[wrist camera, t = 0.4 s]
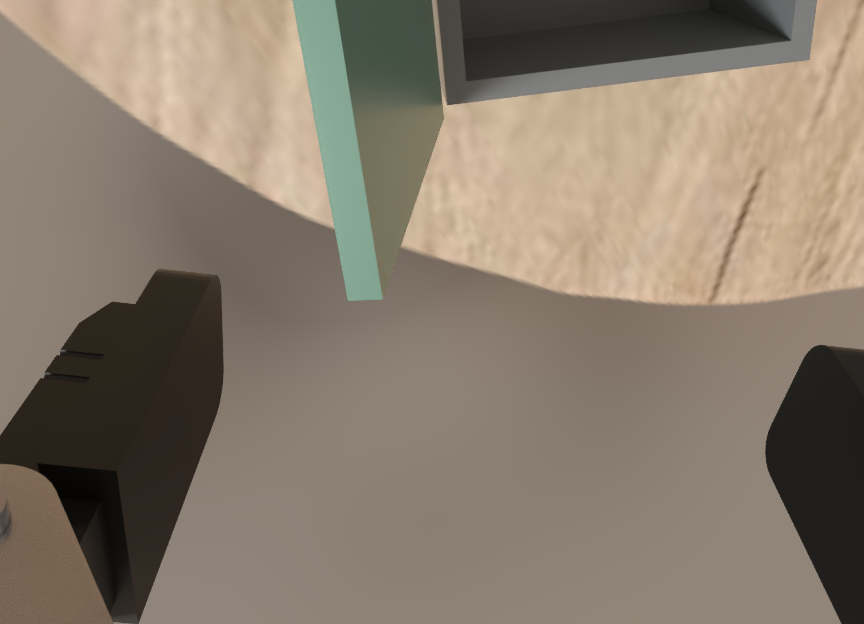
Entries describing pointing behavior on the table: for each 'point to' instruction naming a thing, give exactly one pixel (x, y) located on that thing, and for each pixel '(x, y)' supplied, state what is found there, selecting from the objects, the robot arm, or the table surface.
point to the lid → (371, 122)
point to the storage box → (607, 42)
